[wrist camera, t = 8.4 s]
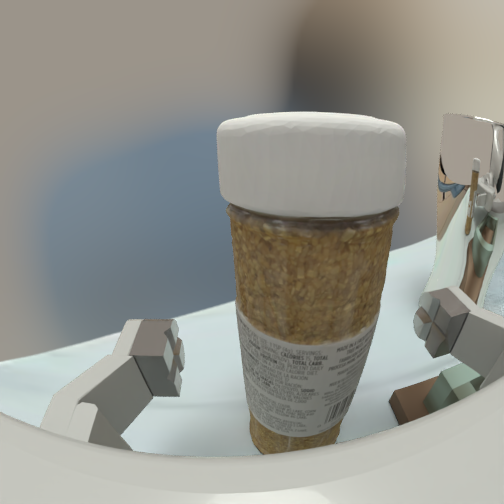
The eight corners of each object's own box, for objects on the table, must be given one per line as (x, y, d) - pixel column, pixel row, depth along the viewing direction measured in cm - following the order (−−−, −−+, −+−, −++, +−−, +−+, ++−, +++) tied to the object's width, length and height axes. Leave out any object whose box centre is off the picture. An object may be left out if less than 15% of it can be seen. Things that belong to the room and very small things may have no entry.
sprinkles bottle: (301, 382, 15) (314, 118, 9) (357, 432, 11) (436, 127, 5) (231, 420, 13) (187, 121, 7) (282, 484, 9) (304, 103, 3)
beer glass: (423, 280, 23) (444, 118, 16) (484, 301, 18) (518, 136, 12) (404, 319, 18) (435, 108, 12) (480, 347, 14) (536, 133, 8)
